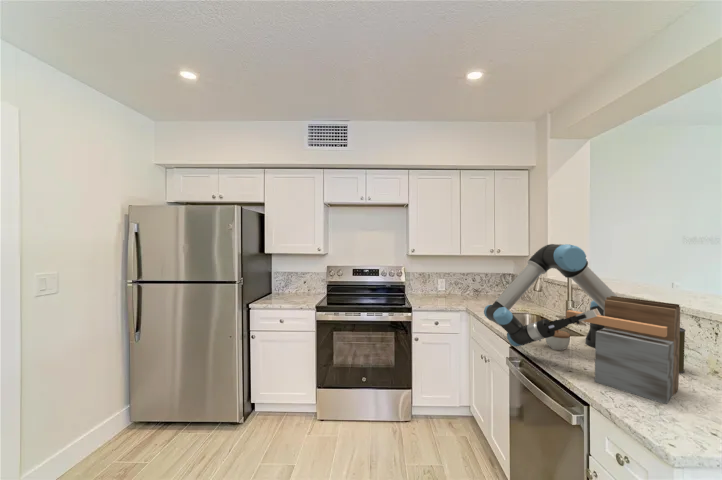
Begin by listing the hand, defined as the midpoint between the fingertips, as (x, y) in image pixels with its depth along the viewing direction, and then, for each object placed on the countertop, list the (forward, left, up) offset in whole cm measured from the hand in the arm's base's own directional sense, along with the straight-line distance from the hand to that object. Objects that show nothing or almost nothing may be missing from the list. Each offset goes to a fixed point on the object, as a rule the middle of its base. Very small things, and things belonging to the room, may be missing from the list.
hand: (596, 312), depth 126 cm
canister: (-36, +14, -26) cm, 47 cm away
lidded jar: (-24, -24, -26) cm, 43 cm away
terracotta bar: (0, +5, -4) cm, 7 cm away
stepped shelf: (-4, +11, -26) cm, 28 cm away
